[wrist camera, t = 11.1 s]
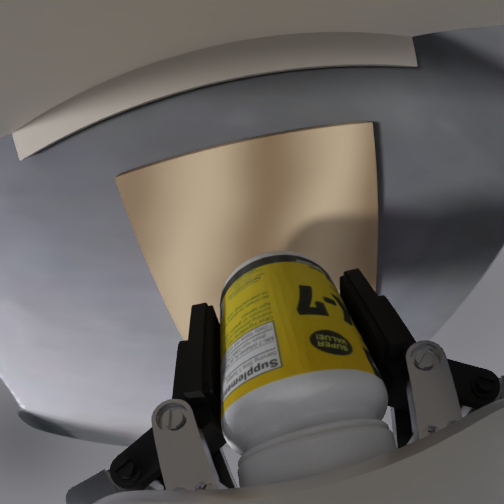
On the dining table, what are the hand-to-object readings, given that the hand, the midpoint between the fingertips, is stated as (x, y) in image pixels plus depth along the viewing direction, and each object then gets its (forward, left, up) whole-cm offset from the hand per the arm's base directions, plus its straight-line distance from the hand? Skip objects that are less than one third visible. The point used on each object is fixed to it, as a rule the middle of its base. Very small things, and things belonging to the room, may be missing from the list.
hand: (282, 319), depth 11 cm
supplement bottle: (0, 0, -2) cm, 2 cm away
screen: (+1, -11, -5) cm, 12 cm away
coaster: (0, 0, -5) cm, 5 cm away
